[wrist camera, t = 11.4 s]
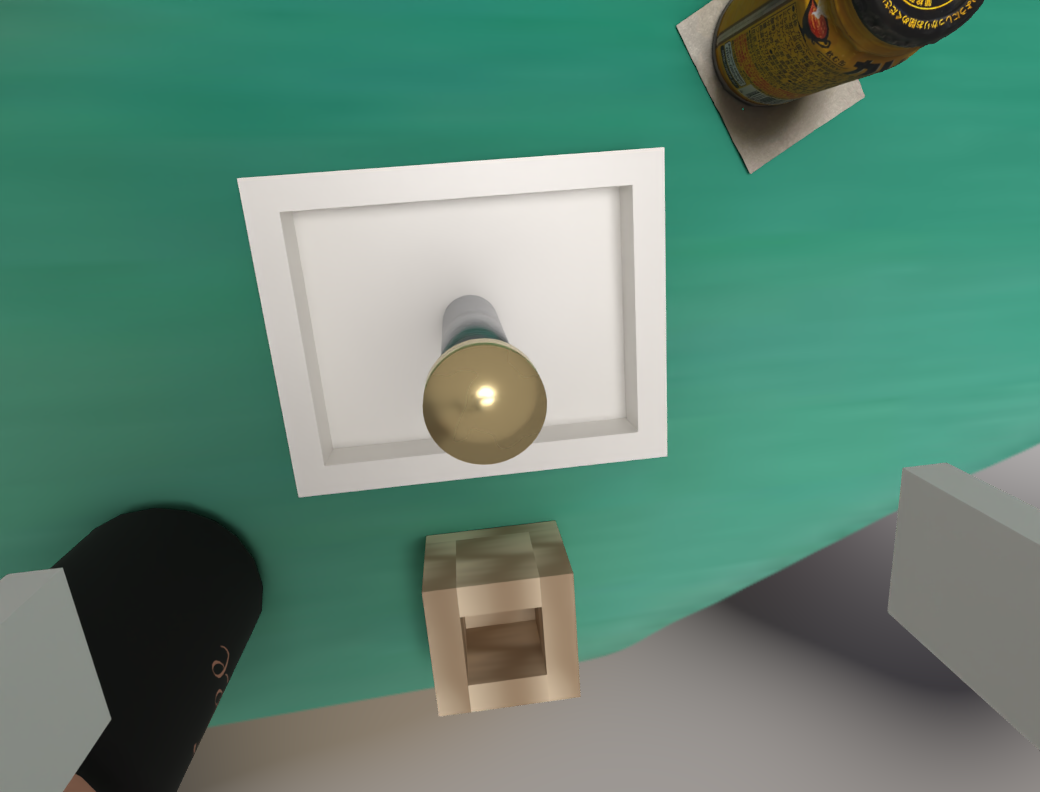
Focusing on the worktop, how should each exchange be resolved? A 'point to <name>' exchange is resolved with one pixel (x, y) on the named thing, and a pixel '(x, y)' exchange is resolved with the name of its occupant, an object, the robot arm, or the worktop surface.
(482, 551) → the block
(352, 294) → the tray
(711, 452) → the worktop surface
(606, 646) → the worktop surface
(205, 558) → the coffee jar
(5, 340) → the worktop surface
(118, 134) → the worktop surface
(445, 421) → the steel pin
